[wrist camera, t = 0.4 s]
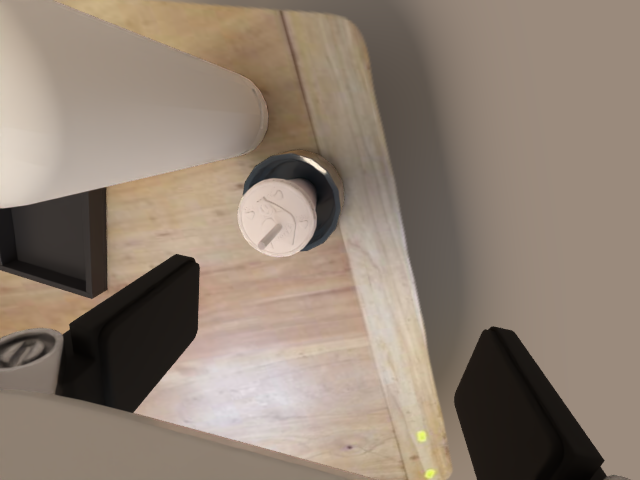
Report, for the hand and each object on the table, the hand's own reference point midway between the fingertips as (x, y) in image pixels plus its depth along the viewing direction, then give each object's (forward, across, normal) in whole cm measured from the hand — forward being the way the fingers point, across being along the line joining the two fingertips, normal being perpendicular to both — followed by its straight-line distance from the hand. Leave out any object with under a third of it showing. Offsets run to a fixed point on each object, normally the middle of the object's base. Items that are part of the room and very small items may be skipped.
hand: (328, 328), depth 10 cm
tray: (+24, +37, +12) cm, 45 cm away
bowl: (+24, +6, +2) cm, 25 cm away
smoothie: (+24, +6, +2) cm, 25 cm away
